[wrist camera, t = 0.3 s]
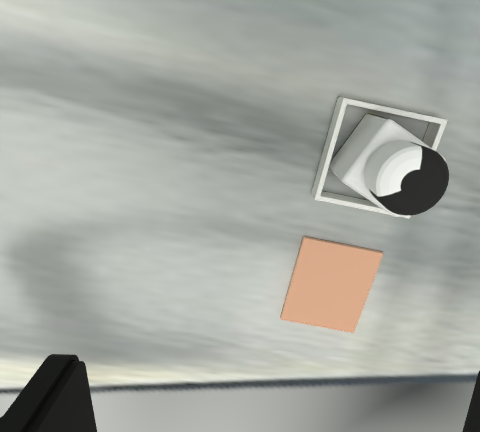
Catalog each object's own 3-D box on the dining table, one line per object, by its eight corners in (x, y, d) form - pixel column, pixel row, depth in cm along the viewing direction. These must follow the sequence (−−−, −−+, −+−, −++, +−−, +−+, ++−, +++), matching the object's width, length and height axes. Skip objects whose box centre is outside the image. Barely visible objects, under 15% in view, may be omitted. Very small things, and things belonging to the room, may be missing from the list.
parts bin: (338, 96, 39) (343, 97, 37) (435, 117, 40) (447, 120, 38) (311, 193, 43) (314, 199, 41) (400, 211, 44) (409, 218, 41)
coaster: (303, 236, 45) (304, 237, 45) (381, 251, 46) (383, 253, 45) (280, 316, 49) (280, 319, 49) (352, 330, 50) (353, 333, 49)
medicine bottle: (416, 147, 41) (479, 171, 30) (375, 198, 43) (419, 239, 32) (366, 111, 40) (412, 123, 29) (326, 166, 42) (354, 196, 31)
